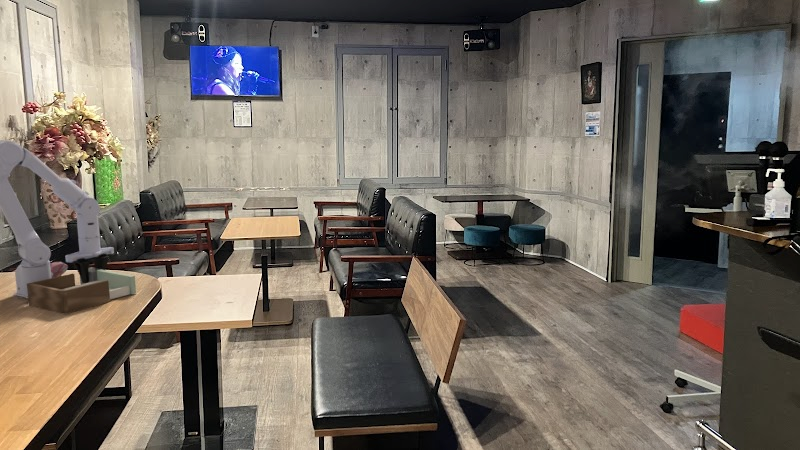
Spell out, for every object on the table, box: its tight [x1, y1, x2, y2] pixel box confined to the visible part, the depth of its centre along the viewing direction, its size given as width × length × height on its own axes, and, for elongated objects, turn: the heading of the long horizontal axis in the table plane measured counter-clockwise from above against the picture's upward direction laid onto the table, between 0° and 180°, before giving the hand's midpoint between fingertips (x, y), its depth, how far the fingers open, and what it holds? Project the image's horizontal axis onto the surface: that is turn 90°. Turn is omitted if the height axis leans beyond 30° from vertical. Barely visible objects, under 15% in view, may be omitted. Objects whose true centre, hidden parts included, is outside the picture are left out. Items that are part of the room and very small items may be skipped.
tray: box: [61, 269, 137, 300], centre depth 179 cm, size 15×14×5 cm
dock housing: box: [27, 273, 111, 315], centre depth 172 cm, size 16×13×6 cm
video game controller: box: [50, 261, 69, 278], centre depth 196 cm, size 10×5×7 cm, turn 169°
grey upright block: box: [79, 266, 103, 285], centre depth 190 cm, size 4×6×5 cm
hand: (92, 281), depth 190 cm, fingers closed on grey upright block, 4 cm apart
